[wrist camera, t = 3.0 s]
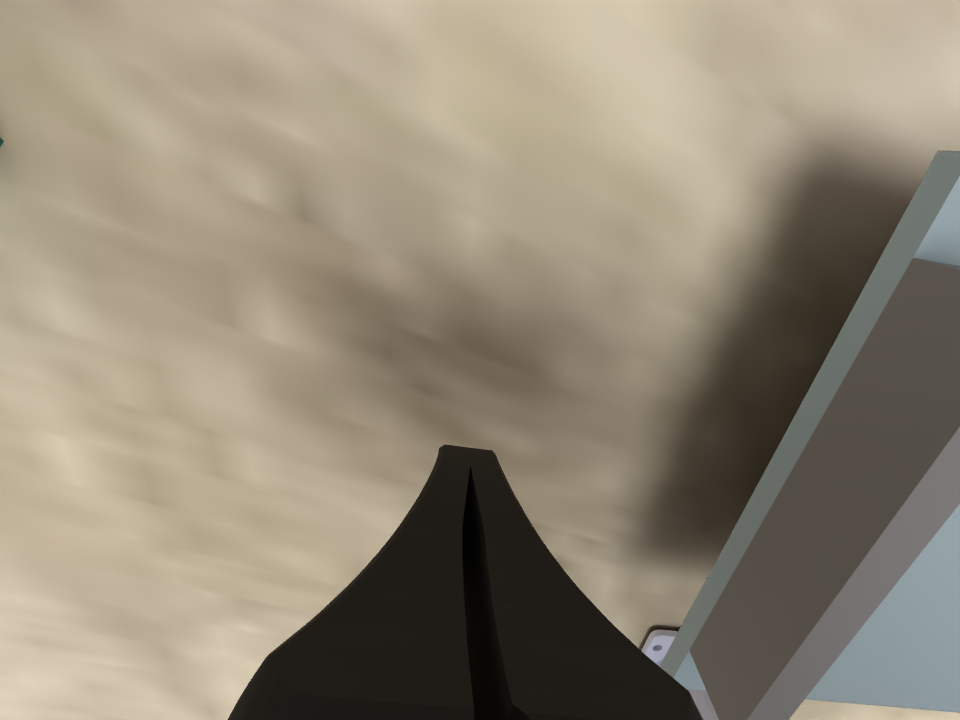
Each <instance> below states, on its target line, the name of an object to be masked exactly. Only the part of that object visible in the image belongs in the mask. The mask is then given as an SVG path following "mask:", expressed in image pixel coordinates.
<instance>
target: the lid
mask: <svg viewBox="0 0 960 720" xmlns="http://www.w3.org/2000/svg"><path fill="white" fill-rule="evenodd" d="M660 667H661V668H662V669H663V670H664V671H665V672H667V673H668V674H669V675H670V676H671V677H673V678H674V679H675V680H676V681H677V682H679V683H680V684H681V685H682V686H683V687H685V688H686V689H693V690H704V691H707V693H708V695H709V698H710V700H711V702H712V705H713V707H714V709H715V712H716V714H717V716H718V719H719V720H789V718H790V717H791V716H792V715H793V713H794V712H795V711H796V710H797V708H798V707H799V706H800V704H801V703H802V702H803V701H804V699H808V700H819V701H831V702H842V703H854V704H865V705H877V706H889V707H900V708H912V709H923V710H935V711H946V712H958V713H960V151H937V153H936V155H935V157H934V159H933V161H932V163H931V164H930V166H929V168H928V170H927V172H926V174H925V176H924V177H923V179H922V181H921V183H920V185H919V187H918V188H917V190H916V192H915V194H914V196H913V198H912V200H911V201H910V203H909V205H908V207H907V209H906V211H905V213H904V214H903V216H902V218H901V220H900V222H899V224H898V226H897V227H896V229H895V231H894V233H893V235H892V237H891V238H890V240H889V242H888V244H887V246H886V248H885V250H884V251H883V253H882V255H881V257H880V259H879V261H878V263H877V264H876V266H875V268H874V270H873V272H872V274H871V275H870V277H869V279H868V281H867V283H866V285H865V287H864V288H863V290H862V292H861V294H860V296H859V298H858V300H857V301H856V303H855V305H854V307H853V309H852V311H851V313H850V314H849V316H848V318H847V320H846V322H845V324H844V325H843V327H842V329H841V331H840V333H839V335H838V337H837V338H836V340H835V342H834V344H833V346H832V348H831V350H830V351H829V353H828V355H827V357H826V359H825V361H824V363H823V364H822V366H821V368H820V370H819V372H818V374H817V375H816V377H815V379H814V381H813V383H812V385H811V387H810V388H809V390H808V392H807V394H806V396H805V398H804V400H803V401H802V403H801V405H800V407H799V409H798V411H797V412H796V414H795V416H794V418H793V420H792V422H791V424H790V425H789V427H788V429H787V431H786V433H785V435H784V437H783V438H782V440H781V442H780V444H779V446H778V448H777V450H776V451H775V453H774V455H773V457H772V459H771V461H770V462H769V464H768V466H767V468H766V470H765V472H764V474H763V475H762V477H761V479H760V481H759V483H758V485H757V487H756V488H755V490H754V492H753V494H752V496H751V498H750V500H749V501H748V503H747V505H746V507H745V509H744V511H743V512H742V514H741V516H740V518H739V520H738V522H737V524H736V525H735V527H734V529H733V531H732V533H731V535H730V537H729V538H728V540H727V542H726V544H725V546H724V548H723V549H722V551H721V553H720V555H719V557H718V559H717V561H716V562H715V564H714V566H713V568H712V570H711V572H710V574H709V575H708V577H707V579H706V581H705V583H704V585H703V587H702V588H701V590H700V592H699V594H698V596H697V598H696V599H695V601H694V603H693V605H692V607H691V609H690V611H689V612H688V614H687V616H686V618H685V620H684V622H683V624H682V625H681V627H680V629H679V631H678V633H677V635H676V637H675V638H674V640H673V642H672V644H671V646H670V648H669V649H668V651H667V653H666V655H665V657H664V659H663V661H662V662H661V664H660Z"/></svg>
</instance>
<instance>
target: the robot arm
mask: <svg viewBox="0 0 960 720" xmlns="http://www.w3.org/2000/svg"><path fill="white" fill-rule="evenodd" d="M677 633H678V631H670V630H654V631H653V632H651V633H650V635H649V637H648V639H647V641H646V643H645V645H644V646H643V648H642V650H639V649H638V648H637V647H636V646H635V645H634V644H633V643H632V642H631V641H630V640H629V639H628V638H627V637H625V636H624V635H623V634H622V633H621V632H620V631H619V630H618V629H617V628H616V627H615V626H614V625H613V624H612V623H611V622H610V621H609V620H608V619H607V618H606V617H605V616H604V615H603V614H602V613H601V612H600V611H599V610H598V609H597V608H596V606H595V605H594V604H593V603H592V602H591V601H590V600H589V599H588V598H587V597H586V596H585V595H584V594H583V592H582V591H581V590H580V589H579V588H578V587H577V586H576V585H575V583H574V582H573V581H572V580H571V579H570V577H569V576H568V575H567V574H566V572H565V571H564V570H563V568H562V567H561V566H560V565H559V563H558V562H557V561H556V559H555V558H554V557H553V555H552V554H551V553H550V551H549V550H548V548H547V547H546V545H545V544H544V543H543V541H542V540H541V538H540V537H539V535H538V534H537V532H536V530H535V529H534V527H533V526H532V524H531V523H530V521H529V519H528V518H527V516H526V514H525V513H524V511H523V509H522V507H521V505H520V504H519V502H518V500H517V498H516V497H515V495H514V493H513V491H512V489H511V487H510V485H509V483H508V481H507V479H506V477H505V475H504V473H503V471H502V468H501V466H500V464H499V462H498V459H497V457H496V455H495V453H494V452H493V451H491V450H483V449H475V448H467V447H459V446H452V445H443V446H442V447H440V448H439V454H438V457H437V460H436V463H435V466H434V468H433V470H432V472H431V474H430V477H429V479H428V480H427V482H426V484H425V486H424V488H423V490H422V491H421V493H420V495H419V497H418V498H417V500H416V502H415V503H414V505H413V506H412V508H411V509H410V511H409V512H408V514H407V515H406V517H405V518H404V520H403V521H402V523H401V524H400V526H399V527H398V528H397V530H396V531H395V532H394V534H393V535H392V536H391V538H390V539H389V540H388V541H387V543H386V544H385V545H384V546H383V548H382V549H381V550H380V551H379V552H378V554H377V555H376V556H375V557H374V558H373V559H372V560H371V562H370V563H369V564H368V565H367V566H366V567H365V568H364V569H363V570H362V572H361V573H360V574H359V575H358V576H357V577H356V578H355V579H354V580H353V581H352V582H351V583H350V584H349V585H348V586H347V587H346V588H345V589H344V590H343V591H342V592H341V593H340V594H339V595H338V596H337V597H335V598H334V599H333V600H332V601H331V602H330V603H329V604H328V605H327V606H326V607H325V608H324V609H323V610H322V611H321V612H320V613H319V614H317V615H316V616H315V617H314V618H313V619H312V620H311V621H309V622H308V623H307V624H306V625H305V626H303V627H302V628H301V629H300V630H298V631H297V632H296V633H295V634H293V635H292V636H291V637H290V638H289V639H287V640H286V641H285V642H284V643H282V644H281V645H280V646H279V647H277V648H276V649H275V650H274V651H273V652H271V653H270V654H269V655H268V656H267V657H266V658H265V660H264V661H263V663H262V664H261V666H260V667H259V669H258V670H257V672H256V673H255V675H254V676H253V678H252V679H251V681H250V682H249V684H248V685H247V687H246V689H245V690H244V692H243V693H242V695H241V697H240V698H239V700H238V702H237V703H236V705H235V707H234V709H233V711H232V713H231V714H230V716H229V718H228V720H719V719H718V716H717V714H716V712H715V709H714V707H713V705H712V702H711V700H710V698H709V695H708V693H707V691H704V690H693V689H686V688H685V687H683V686H682V685H681V684H680V683H679V682H677V681H676V680H675V679H674V678H673V677H671V676H670V675H669V674H668V673H667V672H665V671H664V670H663V669H662V668H661V667H660V664H661V662H662V661H663V659H664V657H665V655H666V653H667V651H668V649H669V648H670V646H671V644H672V642H673V640H674V638H675V637H676V635H677ZM789 720H790V719H789Z"/></svg>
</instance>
